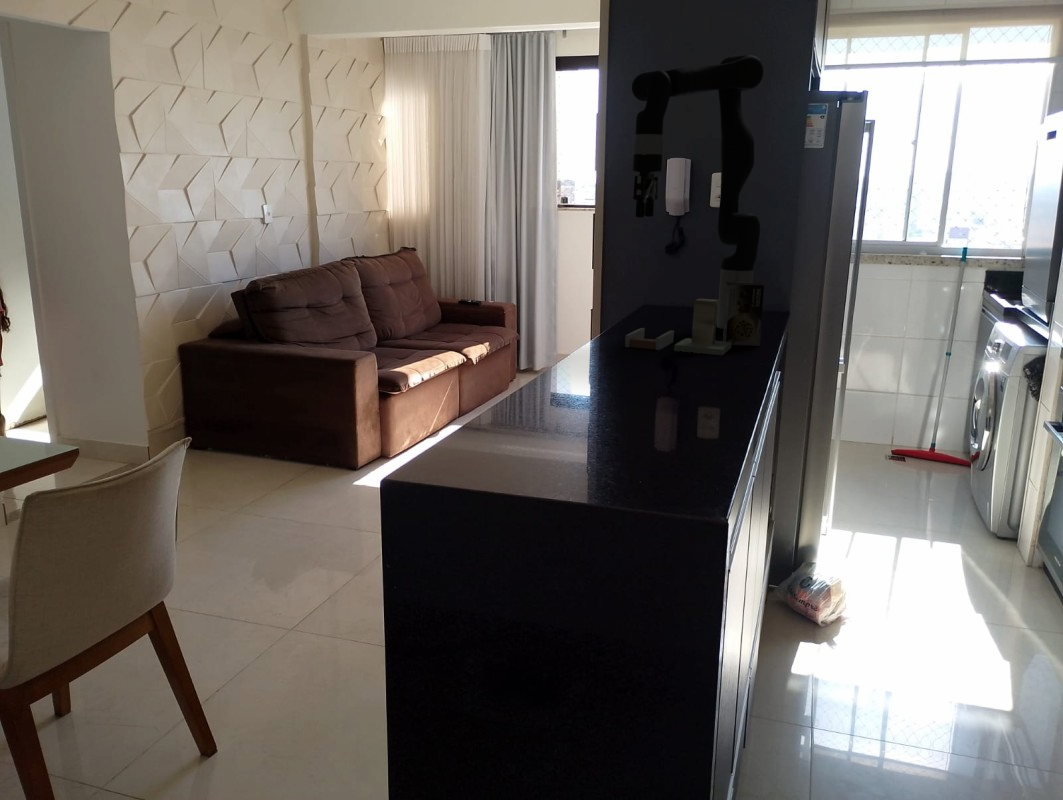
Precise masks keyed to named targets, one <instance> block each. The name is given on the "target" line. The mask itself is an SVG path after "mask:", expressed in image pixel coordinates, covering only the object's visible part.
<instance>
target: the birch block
mask: <svg viewBox="0 0 1063 800" xmlns="http://www.w3.org/2000/svg"><path fill="white" fill-rule="evenodd" d="M718 301H719V299H710V298H709V299H708V298H697V299H695V300H693V317H692V329H691V339H692V341H691V344H695V345H706V346H712V345H713V344H714V343H715V341H716V334H717V332H716V331H717V314H718Z"/></svg>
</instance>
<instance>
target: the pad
mask: <svg viewBox="0 0 1063 800" xmlns="http://www.w3.org/2000/svg"><path fill="white" fill-rule="evenodd" d="M691 341H692V338H690V337H685V338H684V339H682V340H680V341H679V342H677V343H676V344H674V347H673V348H674V349H673V351H674V352H680V351H682V352H683V353H691V352H693V353H694V354H701V353H702V354H703V355H714V356H723V355H725V354H726V353H727V352H728V351H729V350H730V349H732V346H733V345H732V342H724V341H723V340H722V341H721V340H715V343H714V344H713V345H712V346H706V345H695V344H691ZM682 352H681V353H682ZM693 353H692V354H693Z"/></svg>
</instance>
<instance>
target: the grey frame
mask: <svg viewBox="0 0 1063 800" xmlns="http://www.w3.org/2000/svg"><path fill="white" fill-rule="evenodd" d="M645 329H646V328H645V327H640V328H638V329H636V330H634V331H632V332H629V333H628V334H625V337H624V338H625V341H624V342H625V343H624V344H625V345H624V348H634V349H635V348H636V349H637V348H638V349H645V350H647V349H648V350H656V351H661V350H662V349H664V348H665V347H668V346H669V345H671V344H673V343H674V336H675V335H674V334H675V330H671V329H670V330H668V331H666V332H665V333H663V334H661V335H660V336H657V337H655V339H652V338H645ZM660 349H661V350H660Z"/></svg>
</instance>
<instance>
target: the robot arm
mask: <svg viewBox="0 0 1063 800" xmlns="http://www.w3.org/2000/svg"><path fill="white" fill-rule="evenodd" d="M763 76H764V66H763V63H762V61H761V60H760V58H759V57H757V56H755V55H752V54H741V55H734V56H728V57H725V58H723V60H722V61H721V62H720V63H719V64H709V65H692V66H684V67H683V66H682V67H677V68H676V67H675V68H674V69H668V70H664V71H663V70H653V71H648V72H646V71H645V72H642V73H639V74H638V75H637V76H636V77H634V79H633V81H632V83H631V92H632V94H633V96H634V97H635V98H636V99H637V100H638V101H641V102H646V103H645V108H644V109H643V110H641V111H639V112H638V113H637V114H636V119H635V131H634V133H635V137H634V143H633V154H632V155H633V156H632V160H633V161H632V171H633V172H634V173H639V175H634V185H633V197H632V198H633V200H634V201H635V203H636V206H635V217H636V218H644V217H650V218H652V217H653V216H654V213H655V212H654V210H655V203H656V200H658V191H659V190H658V188H659V186H658V185H659V177H658V176H655V173H661V172H662V169H663V152H664V151H663V150H664V149H663V148H664V140H663V138H664V137H663V134H664V118H665V115H666V113H667V108H668V106H669V103H670V98H680V97H685V96H693V95H697V94H702V93H707V92H712V91H717V90H718V91H717V92H718V99H719V100H718V101H719V113H720V114H719V115H720V197H719V206H718V207H719V209H718V216H717V217H718V218H717V234H718V238H719V240H720V242H721V243H722V244H723V245H726V246H736V248H735V252H734V253H733V254H732V255H729V256H728V257H724V258H723V259H722V260H721V265H720V277H719V278H720V279H719V288H718V289H719V292H718V310H717V323H716V329H717V328H718V329H721V330H724V317H725V302H726V288H727V282H753V278H754V267H755V263H756V260H757V257H758V251H759V250H758V249H759V242H760V236H761V235H760V234H761V224H760V223H761V222H760V219H759V218H758V216H757V215H756V214H754V213H747V212H739V203H740V202H739V201H740V195H741V192H742V190H743V188H744V185H745V184H746V183H747V180H748V178H749V177H750V176H751V173H752V171H753V169H754V164H755V139H754V136H753V133H752V131H751V128H750V127H749V125H748V122H747V119H746V118H745V116H744V112H743V109H742V108H743V107H742V92H748V91H751V90H753V89H755V88H757V87H758V86H759V85H760V84H761V82H762V79H763Z"/></svg>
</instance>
